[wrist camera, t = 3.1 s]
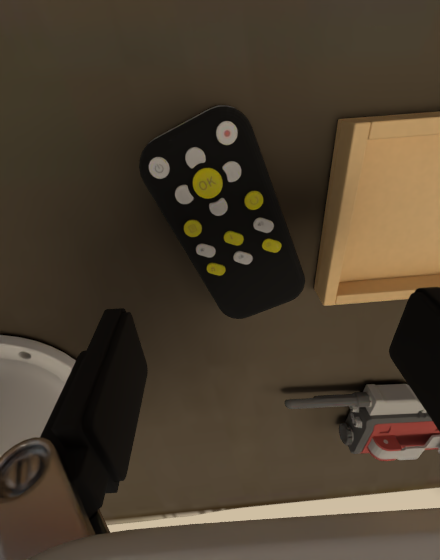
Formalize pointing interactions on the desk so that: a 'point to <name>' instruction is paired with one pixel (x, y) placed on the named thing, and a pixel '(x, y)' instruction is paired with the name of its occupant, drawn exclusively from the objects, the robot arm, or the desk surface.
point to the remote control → (224, 210)
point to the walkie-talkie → (381, 421)
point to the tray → (381, 210)
